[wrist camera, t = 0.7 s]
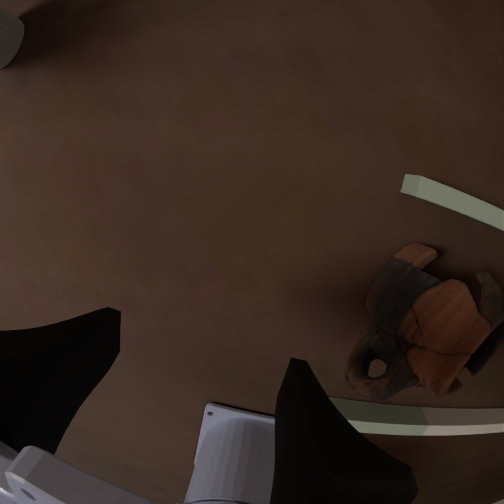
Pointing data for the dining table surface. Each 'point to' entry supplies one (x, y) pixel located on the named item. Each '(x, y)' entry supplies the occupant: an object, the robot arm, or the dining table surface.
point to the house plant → (9, 36)
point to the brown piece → (424, 328)
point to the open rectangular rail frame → (426, 418)
